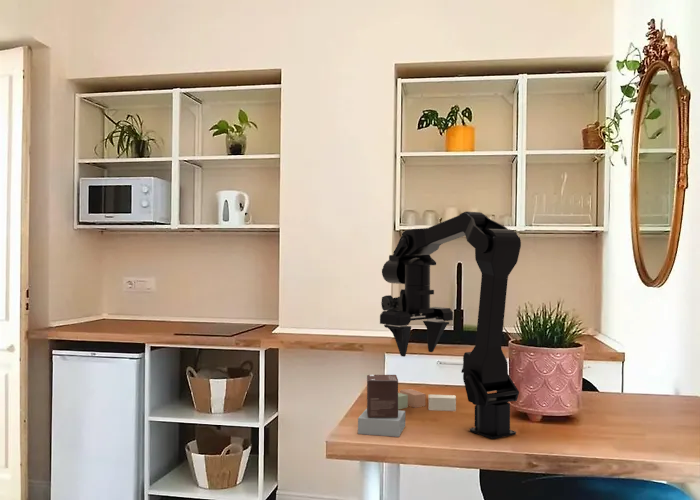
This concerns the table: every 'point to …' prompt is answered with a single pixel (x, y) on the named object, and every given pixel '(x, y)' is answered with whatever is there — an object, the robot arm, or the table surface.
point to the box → (382, 396)
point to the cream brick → (442, 402)
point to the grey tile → (381, 425)
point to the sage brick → (402, 401)
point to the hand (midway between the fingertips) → (417, 354)
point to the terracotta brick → (414, 397)
